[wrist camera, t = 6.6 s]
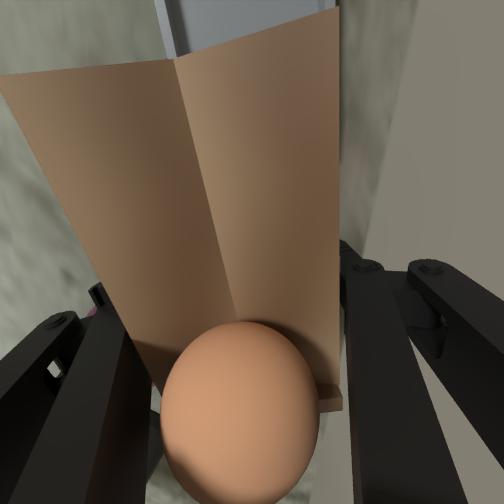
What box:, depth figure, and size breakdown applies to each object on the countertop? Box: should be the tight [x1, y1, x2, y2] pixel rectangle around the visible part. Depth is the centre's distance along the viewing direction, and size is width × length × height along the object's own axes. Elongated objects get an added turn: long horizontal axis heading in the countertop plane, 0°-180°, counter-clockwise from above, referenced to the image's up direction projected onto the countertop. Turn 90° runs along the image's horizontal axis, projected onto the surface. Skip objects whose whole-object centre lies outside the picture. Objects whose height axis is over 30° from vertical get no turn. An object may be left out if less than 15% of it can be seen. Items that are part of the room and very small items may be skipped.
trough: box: [0, 6, 343, 413], centre depth 10 cm, size 6×11×10 cm, turn 9°
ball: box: [160, 322, 320, 504], centre depth 6 cm, size 4×4×4 cm
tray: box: [154, 0, 335, 59], centre depth 21 cm, size 14×16×3 cm
